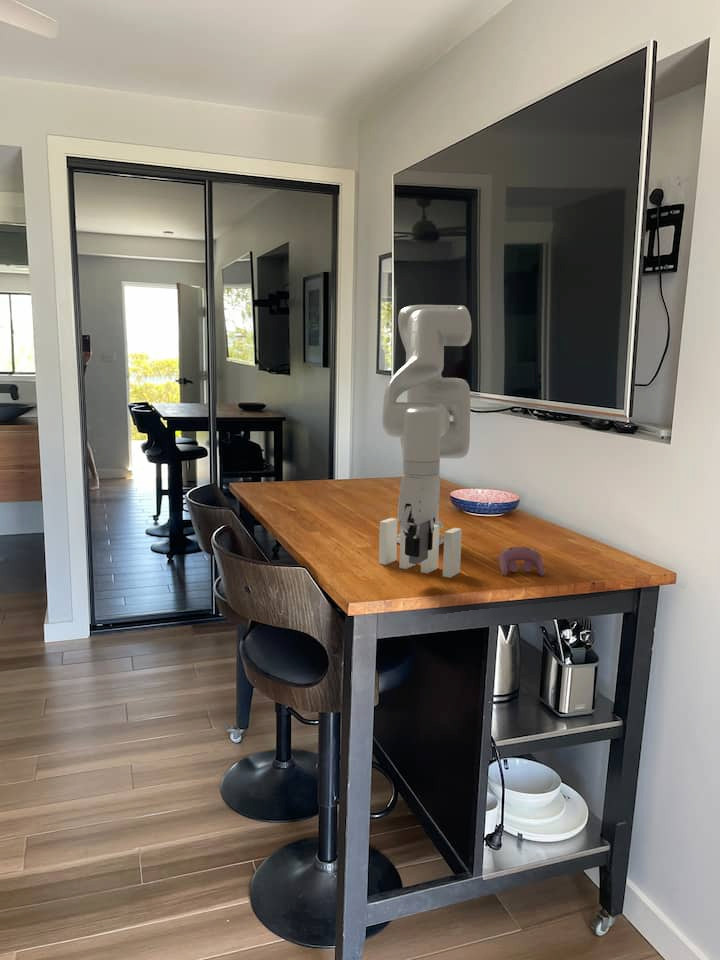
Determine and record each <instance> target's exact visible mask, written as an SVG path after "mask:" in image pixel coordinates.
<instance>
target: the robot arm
mask: <svg viewBox="0 0 720 960" xmlns="http://www.w3.org/2000/svg"><path fill="white" fill-rule="evenodd" d="M471 319H472V318H471V315H470V311H469V310H468V307H466V306H465V305H462V304H460V305H455V304H454V305H453V304H414V305H408V306H405V307H403V308H402V309H400V310H399V313H398V317H397V322H398V323H397V325H398V331H399V335H400V339H401V341H402V345H403V347H404V350H405V363H404V365H402V366H401V368H399V369H397V371H396V372H395V373H394V374H393V376H392V377H391V378H390V380H389V381H388V383H387V385H386V388H385V390H384V395H383V407H382V427H383V430H384V432H385V434H386V435H387V436H389V437H393V438H400V449H401V456H402V477H401V481H400V487H399V494H398V495H399V496H398V507H397V522H399V528H401V529H402V530H403V532H404V537H405V555H408V556H413V557H419V555H420V538H418V535H419V529H420V524H422V523H424V522H426V521H428V520H429V533H428V550H432V543H433V531H434V525H440V526H439V530H441V529H443V528H444V523H443V522H442V521H439V519H440V517H439V516H440V514H439V511H440V486H441V483H440V482H441V477H440V469H441V467H440V465H441V464H440V463H441V461H440V460H441V459H463V458H464V457H466V456H467V455H468V452H469V449H470V439H471V402H472V401H471V400H472V399H471V389H470V385H469V383H468V382H467V380H465V379H463V378H459V377H443V375H442V372H443V371H444V366H445V363H444V362H445V361H444V360H445V357H444V356H445V350H444V349H445V348H444V347H445V346H446V347H464V346H467V344H469V343H470V340H471V336H472V320H471ZM406 391H407V393H406V395H407V396H406V397H407V398H406V399H407V401H406V402H405V401H404V402H402V401H398V398H399V397H400V396H401V395H402V394H403V393H405V392H406ZM451 419H452V420H451ZM410 520H414V523H411V522H410ZM410 525H411V526H415V529H414V530H413V528H411V527H410ZM431 531H432V532H431ZM397 544H399V545H400V533H397ZM442 544H443V545H444V536H442V535H440V534H439V546H441V545H442Z"/></svg>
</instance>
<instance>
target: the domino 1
mask: <svg viewBox="0 0 720 960" xmlns="http://www.w3.org/2000/svg"><path fill="white" fill-rule="evenodd" d="M378 533H379V536H378V537H379V538H378V539H379V541H378V542H379V543H378V544H379V545H378V547H379V548H378V565H384V566H386V565H389V564H392V563H393V562H395V561H397V557H398V555H397V554H398V551H397V550H398V548H397V545H398V543H397V534H398V518H394V517H390V518H386V519H383V520H380V521H379V532H378Z"/></svg>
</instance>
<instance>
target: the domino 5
mask: <svg viewBox="0 0 720 960" xmlns="http://www.w3.org/2000/svg"><path fill="white" fill-rule="evenodd" d="M462 531H463V529H462V528H459V527H452V528H451V529H448V530H446V531H444V532H443V538H444V542H443V557H442V558H443V559H442V562H443V563H442V564H443V565H442V577H445V578H452V577H454V576H456V575H457V574H460V572H461V559H462V558H461V556H462V555H461V554H462Z"/></svg>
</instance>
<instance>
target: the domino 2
mask: <svg viewBox="0 0 720 960" xmlns="http://www.w3.org/2000/svg"><path fill="white" fill-rule="evenodd" d="M399 528H400V527H399ZM399 531H400V532H399V534H400V544H399V569H404V570H408V569H409V568H412V567H413V566H417V565H416V564H412V563H409V556H408V555H405V537H404V532H403V530H402V529H401V528H400V530H399Z"/></svg>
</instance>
